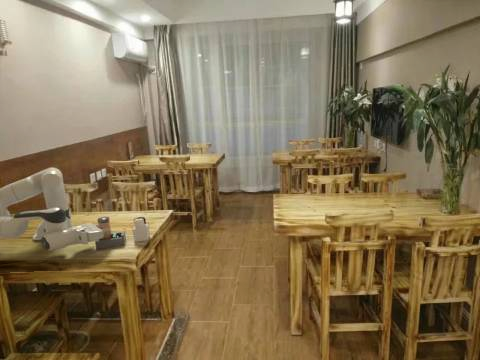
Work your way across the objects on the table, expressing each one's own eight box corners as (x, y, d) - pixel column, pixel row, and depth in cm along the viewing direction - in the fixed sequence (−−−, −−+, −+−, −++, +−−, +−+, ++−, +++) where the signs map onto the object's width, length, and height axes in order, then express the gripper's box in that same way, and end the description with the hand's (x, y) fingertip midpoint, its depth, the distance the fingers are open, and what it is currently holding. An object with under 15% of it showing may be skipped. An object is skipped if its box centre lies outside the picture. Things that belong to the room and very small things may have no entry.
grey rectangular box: (96, 249, 181) (94, 240, 180) (99, 242, 190) (97, 233, 189) (124, 244, 184) (123, 235, 183) (125, 238, 194) (124, 229, 192)
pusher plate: (113, 243, 184) (112, 236, 183) (115, 238, 191) (114, 232, 190) (118, 242, 185) (117, 236, 184) (119, 237, 191) (118, 231, 190)
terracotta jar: (100, 242, 183) (96, 220, 180) (101, 238, 188) (98, 217, 186) (111, 241, 184) (108, 219, 181) (112, 237, 190) (109, 216, 187)
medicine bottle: (137, 237, 194) (134, 216, 191) (150, 235, 195) (147, 215, 192) (134, 242, 187) (131, 220, 184) (147, 240, 188) (144, 219, 185)
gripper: (74, 235, 185) (100, 228, 194) (86, 245, 170) (114, 237, 178) (72, 223, 184) (98, 217, 192) (84, 233, 168) (112, 225, 177)
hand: (106, 226), depth 185 cm, fingers closed on terracotta jar, 5 cm apart
